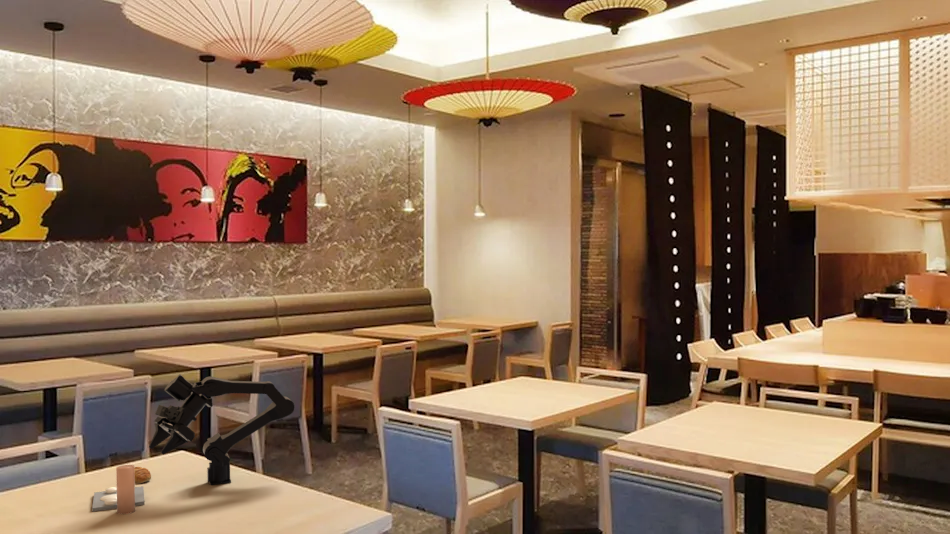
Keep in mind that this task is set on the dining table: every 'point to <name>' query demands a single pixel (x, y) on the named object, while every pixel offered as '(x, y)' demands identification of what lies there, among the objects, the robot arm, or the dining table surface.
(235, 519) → the dining table surface
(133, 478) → the canister
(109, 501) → the board
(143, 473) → the pastry
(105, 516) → the dining table surface
